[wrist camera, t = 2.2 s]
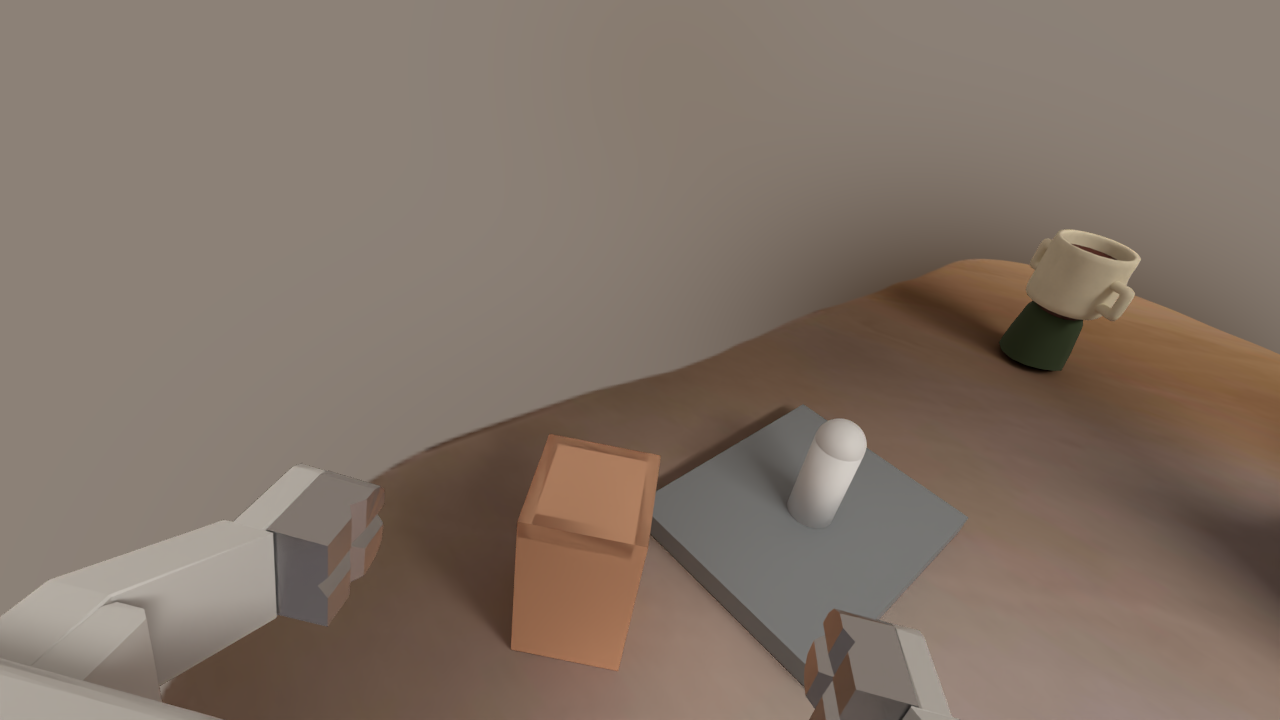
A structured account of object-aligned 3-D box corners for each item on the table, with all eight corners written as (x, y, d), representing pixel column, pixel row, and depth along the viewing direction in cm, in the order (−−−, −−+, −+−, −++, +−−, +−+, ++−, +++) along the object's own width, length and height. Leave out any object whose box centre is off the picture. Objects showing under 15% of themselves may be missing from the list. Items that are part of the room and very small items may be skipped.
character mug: (1095, 391, 62) (1180, 274, 54) (1037, 393, 60) (1117, 272, 52) (1019, 329, 70) (1083, 221, 62) (966, 329, 68) (1026, 218, 61)
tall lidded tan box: (538, 559, 37) (549, 433, 31) (632, 578, 36) (660, 455, 31) (510, 649, 32) (517, 521, 26) (618, 671, 32) (648, 547, 26)
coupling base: (797, 418, 51) (833, 326, 46) (958, 531, 43) (1023, 436, 38) (634, 518, 40) (657, 412, 35) (811, 693, 32) (873, 590, 27)
